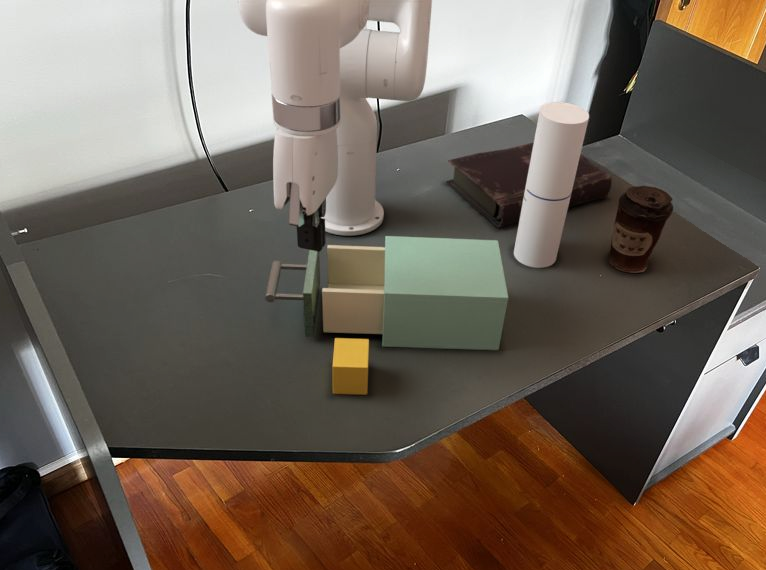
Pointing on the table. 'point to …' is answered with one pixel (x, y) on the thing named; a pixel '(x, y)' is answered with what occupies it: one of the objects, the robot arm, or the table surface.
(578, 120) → the cylindrical container
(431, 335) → the fridge
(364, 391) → the block
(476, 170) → the diary
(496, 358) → the table surface
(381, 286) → the fridge drawer
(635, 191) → the coffee cup
